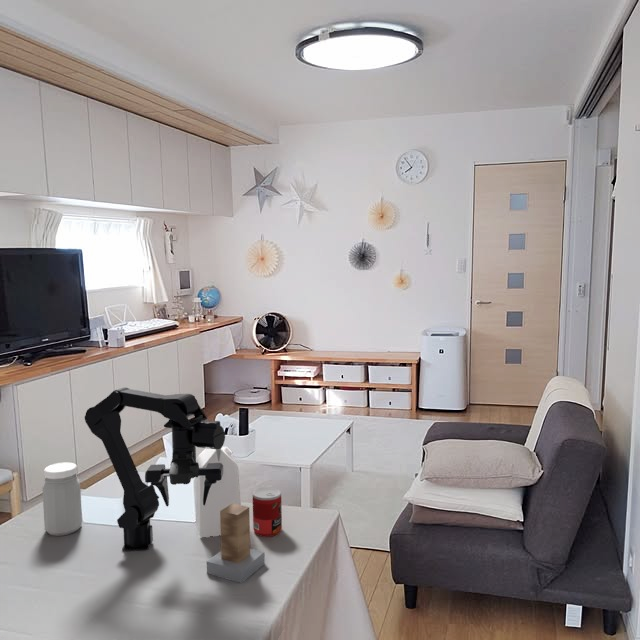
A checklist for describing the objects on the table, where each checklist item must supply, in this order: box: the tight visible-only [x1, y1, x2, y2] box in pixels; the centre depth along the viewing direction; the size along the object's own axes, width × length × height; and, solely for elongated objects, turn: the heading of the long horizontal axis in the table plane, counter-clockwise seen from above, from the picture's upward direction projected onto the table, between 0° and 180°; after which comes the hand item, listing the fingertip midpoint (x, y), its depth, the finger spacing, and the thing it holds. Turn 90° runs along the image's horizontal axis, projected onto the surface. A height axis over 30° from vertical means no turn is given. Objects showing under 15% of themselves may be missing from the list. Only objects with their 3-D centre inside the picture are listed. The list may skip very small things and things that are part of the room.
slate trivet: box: [206, 548, 266, 584], centre depth 148 cm, size 10×10×3 cm
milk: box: [195, 445, 241, 539], centre depth 170 cm, size 12×12×26 cm
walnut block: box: [220, 504, 251, 564], centre depth 147 cm, size 5×5×12 cm
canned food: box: [252, 487, 283, 538], centre depth 168 cm, size 8×8×11 cm
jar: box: [41, 461, 83, 537], centre depth 169 cm, size 10×10×18 cm
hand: (186, 505), depth 154 cm, fingers open, 9 cm apart
